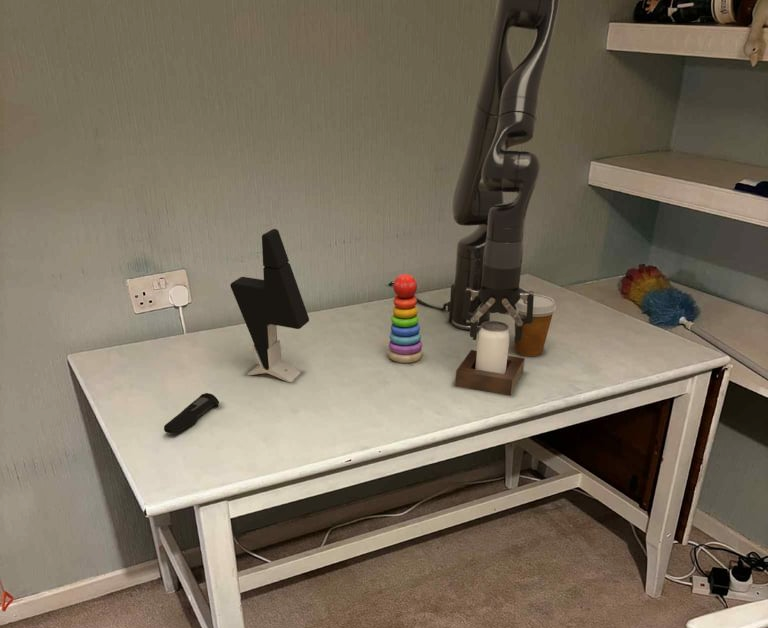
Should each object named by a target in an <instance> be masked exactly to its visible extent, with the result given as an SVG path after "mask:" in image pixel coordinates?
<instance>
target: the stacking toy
mask: <svg viewBox="0 0 768 628" xmlns="http://www.w3.org/2000/svg"><path fill="white" fill-rule="evenodd" d="M393 281H394V284H392V285H393V286H392V287H393V291H394V294H395V295H396V296H395V297H394V299H393V305H394V307H393V309H392V316H391V325H390V331H391V332H390V333H389V342H388V350H387V356H388V358H389V359H390V360H392V361H394V362H397V363H402V364H409V363H414V362H418V361H420V360H421V359H422V358H423V355H424V351H423V349H422V348H423V342H422V340H421V338H422V333H421V332H420V330H421V326H420V323H419V320H420V319H419V316H418V313H419V310H418V307H417V306H416V305H417V304H418V302H417V299H418V298H417V297H416V296H415V294H416V291H417V289H418V283H417V280H416V279H415V277H414V276H412V275H411V274H407V273H402V274H399V275H398V276H397V277H396V278H395V280H393ZM413 295H414V296H415V297H416V298H417V299H416V298H415V297H414V296H413Z"/></svg>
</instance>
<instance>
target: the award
mask: <svg viewBox="0 0 768 628" xmlns="http://www.w3.org/2000/svg"><path fill="white" fill-rule="evenodd" d="M261 248H262V249H261V250H262V251H261V252H262V266H263V269H262V271H263V272H262V273H263V279H260V278H254V277H248V276H241V277H239V278H237V279H236V280H234V281H231V283H230V289H231V291H232V294H233V296H234V299H235V301H236V303H237V306H238V308H239V311H240V313H241V316H242V318H243V320H244V323H245V325H246V327H247V330H248V333H249V335H250V338H251V340H252V342H253V345H251V346H252V350H253V352H254V354H255V357H256V359H257V362H258V365H257V366H255V367H254V368H253V369H252V370H250V371H249V372H248V373H247V374H246V376H254V375H255V376H256V375H260V374H268V375H271V376H273V377H276V378H278V379H280V380H282V381H284V382H287V383H292V382H293V381H294V380H296V378H298V376H299V375H300V374H301V373H302V371H299V370H298V369H297V368H295V367H294V366H292V365H291V364H289V363H288V362H286V361H284V360H283V359H282V352H281V351H282V350H281V340H280V339H278V331H277V327H282V328H283V327H284V328H289V329H295V330H300V329H302V328H303V327H304V326H305V325H306V324H308V323H309V322H310V317H309V314H308V311H307V307H306V306H305V302H304V300H303V298H302V294H301V290H300V289H299V286H298V282H297V280H296V277H295V274H294V272H293V269H292V266H291V264H290V263H289V261H290V260H289V256H288V253H287V251H286V248H285V246H284V242H283V240H282V237H281V234H280V231H279V229H277V228H272V229H270V230H268V231H267V232H265V233H263V234H262V235H261Z"/></svg>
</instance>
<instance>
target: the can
mask: <svg viewBox="0 0 768 628" xmlns="http://www.w3.org/2000/svg"><path fill="white" fill-rule="evenodd" d="M476 345H477V347H476V351H477V355H476V367H475V369H476V370H482V371H489V372H495V373H501V374H504V373H505V372H506V364H507V356H509V354H508V353H509V345H510V329H509V325H508V324H507V323H506V322H503V321H498V320H490V321H487V322H484V323H482V324H481V329H480V330H478V333H477V343H476Z"/></svg>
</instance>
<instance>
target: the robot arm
mask: <svg viewBox="0 0 768 628" xmlns="http://www.w3.org/2000/svg"><path fill="white" fill-rule="evenodd" d="M560 2H561V0H497V2H496V6H495V11H494V12H495V13H494V19H493V24H492V29H491V30H492V31H491V37H490V42H489V49H488V55H487V59H486V63H485V68H484V72H483V76H482V80H481V85H480V88H479V92H478V95H477V99H476V105H475V109H474V114H473V119H472V124H471V129H470V134H469V140H468V145H467V149H466V153H465V157H464V160H463V162H462V166H461V169H460V173H459V176H458V178H457V179H458V180H457V182H456V186H455V189H454V193H453V198H452V207H451V208H452V217H453V220H454V222H455V223H456V224H457V225H459V226H464V227H466V226H467V227H469V226H470V227H471V226H478V227H477V228H476V229H475V230H474V231H472V233H470V234H468V235H466V236H464V237H461V239H459V240H458V242H457V245H456V259H455V275H454V283H452V284H451V286H450V298H449V301H448V302H445V303H444V304H442V307H437V306H433V305H431V304H429V303H427V302H425V301H422V300H421V299H419V298H418V297H416V295H415V294H414V295H413V296H414V297H415V298H416V299H417V303H419V304H421V305H422V306H424V307H427V308H430V309H434V310H437V311H441V312H444V311H447V313H449V314H448V323H450V324H451V325H453V326H454V327H455V328H458V329H461V330H466V331H469V337H470V338H472V341H477V339H478V331H479V330H480V329H481V324H482V323H484V322H487V321H491V314H495V313H496V314H497V313H498V314H501V315H506V314H508V313H507V312H509V314H508V315H509V316H510V317H511V318H512V319H513V320H514V323H515V322H516V329H515V328H514V340H513V344H515V343H517V342H518V340H519V341H520V340H521V337H522V328H523V325H525V324H531V323H532V319H533V301H534V294H535V292H534V291H533V290H528V291H529V292H528V293H520V291H519V286H520V284H521V283H520V282H521V273H522V263H523V254H524V244H523V243H524V232H525V223H526V216H527V212H528V208H529V204H530V201H531V198H532V195H533V193H534V190H535V188H536V186H537V183H538V181H539V177H540V174H541V161H540V158H539V157H538V155H537V154H536V153H535V152H534V151H527V150H508V149H509V148H511V147H514V146H518V145H523V144H526V143H528V142H530V141H532V139H533V138H534V136H535V132H536V127H537V126H536V125H537V117H538V109H539V101H540V94H541V88H542V81H543V79H544V75H545V71H546V67H547V62H548V59H549V54H550V51H551V46H552V43H553V42H552V41H553V37H554V32H555V28H556V25H557V20H558V19H557V18H558V14H559V10H560V4H561V3H560ZM511 29H519V30H526V31H530V32H536V33H535V37H534V39H533V43H532V45H531V47H530V49H529V50H528V52H527V53H526V55H525V56H524V58H523V59H522V60H521V61H520V63H519V64H518V65H517V66H516V67H515V65H514V62H513V58H512V52H511V48H510V40H509V34H510V30H511ZM504 193H516V194H517V196H516V198H514V199H513V200H512V201H509V202H504V200H505V199H504ZM392 282H393V281H390V282H389V283H388V286H392V285H394V283H392ZM520 299H522V300H523V303H524V304H527V316H523V317H522V316H521V314H520V312H519V311H518V308H517V307H516V305H515V304H516V303H517V302H518V301H519V300H520Z"/></svg>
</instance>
